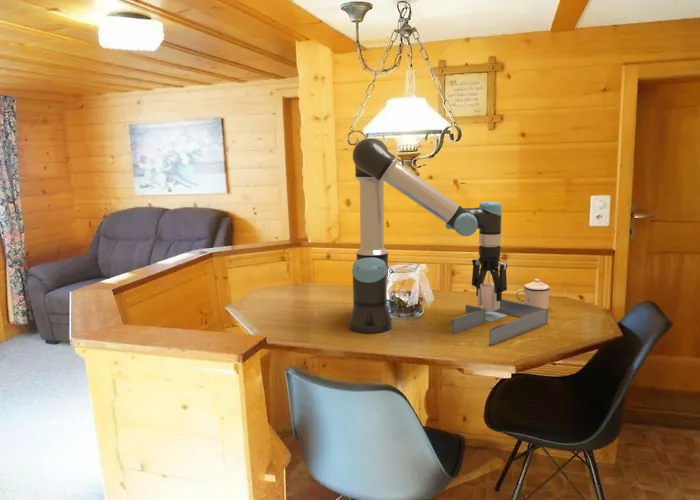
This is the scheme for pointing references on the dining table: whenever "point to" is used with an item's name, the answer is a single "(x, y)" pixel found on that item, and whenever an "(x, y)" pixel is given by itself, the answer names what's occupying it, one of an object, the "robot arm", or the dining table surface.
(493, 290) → the smoothie
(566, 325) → the dining table surface
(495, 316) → the pad
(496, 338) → the channel
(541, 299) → the teacup with lid
